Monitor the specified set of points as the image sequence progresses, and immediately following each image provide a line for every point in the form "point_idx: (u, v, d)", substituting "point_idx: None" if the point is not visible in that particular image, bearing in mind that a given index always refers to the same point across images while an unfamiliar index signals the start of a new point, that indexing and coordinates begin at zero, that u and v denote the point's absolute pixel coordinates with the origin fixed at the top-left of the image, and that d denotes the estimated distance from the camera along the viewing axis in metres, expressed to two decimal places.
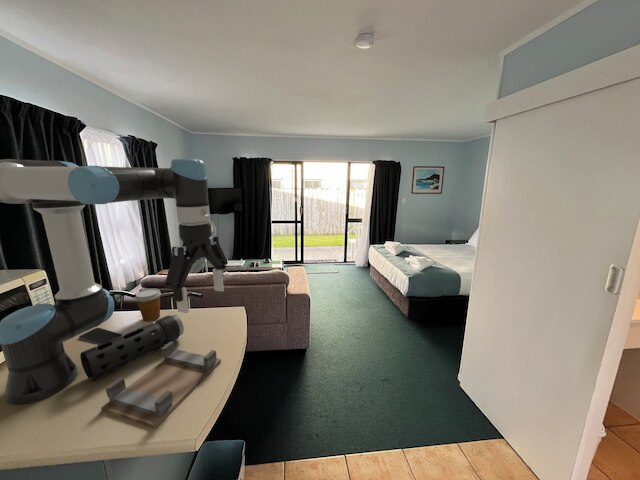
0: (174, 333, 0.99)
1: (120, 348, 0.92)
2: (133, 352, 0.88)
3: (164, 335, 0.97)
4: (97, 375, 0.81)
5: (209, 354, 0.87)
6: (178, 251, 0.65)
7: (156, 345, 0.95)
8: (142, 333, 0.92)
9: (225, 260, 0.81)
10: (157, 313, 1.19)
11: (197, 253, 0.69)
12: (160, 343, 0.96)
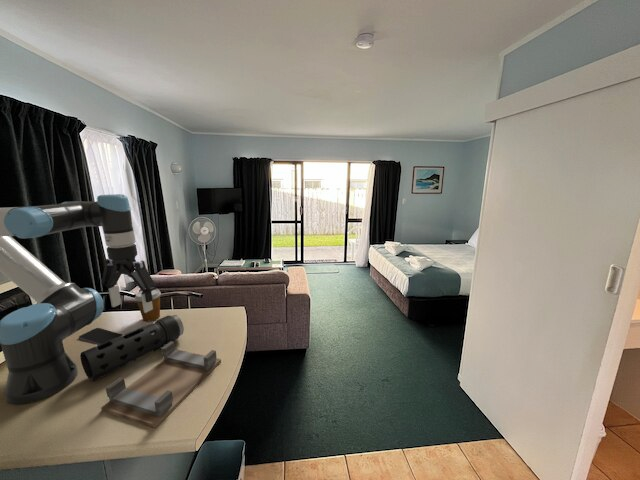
0: (174, 333, 0.99)
1: (120, 348, 0.92)
2: (133, 352, 0.88)
3: (164, 335, 0.97)
4: (97, 375, 0.81)
5: (209, 354, 0.87)
6: None
7: (156, 345, 0.95)
8: (142, 333, 0.92)
9: (147, 287, 0.85)
10: (157, 313, 1.19)
11: (114, 268, 0.86)
12: (160, 343, 0.96)
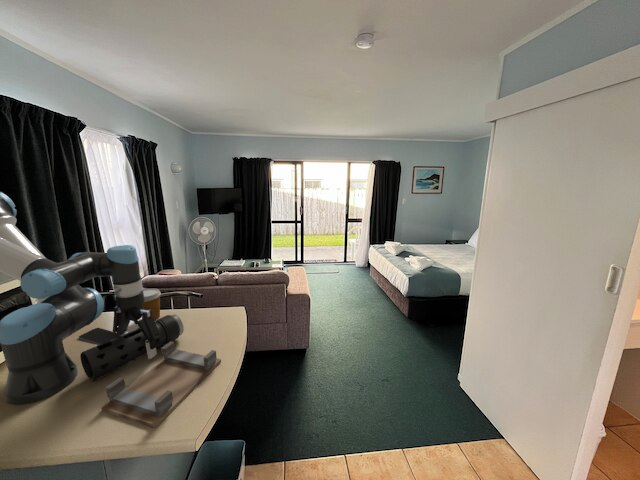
0: (174, 333, 0.99)
1: (120, 348, 0.92)
2: (133, 351, 0.88)
3: (164, 335, 0.97)
4: (97, 375, 0.81)
5: (209, 354, 0.87)
6: None
7: (156, 345, 0.95)
8: (142, 333, 0.92)
9: (151, 336, 0.89)
10: (157, 313, 1.19)
11: (123, 316, 0.90)
12: (160, 343, 0.96)
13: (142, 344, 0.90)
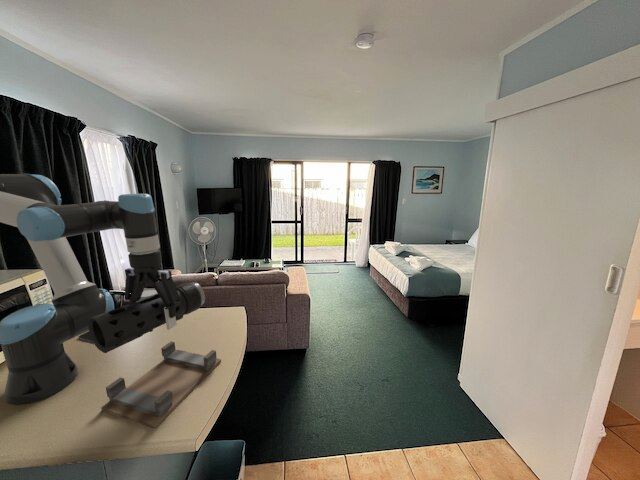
0: (195, 301, 0.85)
1: None
2: (151, 319, 0.75)
3: (184, 303, 0.83)
4: (110, 344, 0.67)
5: (209, 354, 0.87)
6: None
7: (176, 313, 0.81)
8: (160, 299, 0.78)
9: (171, 301, 0.75)
10: None
11: (137, 278, 0.76)
12: (180, 311, 0.82)
13: (161, 311, 0.77)
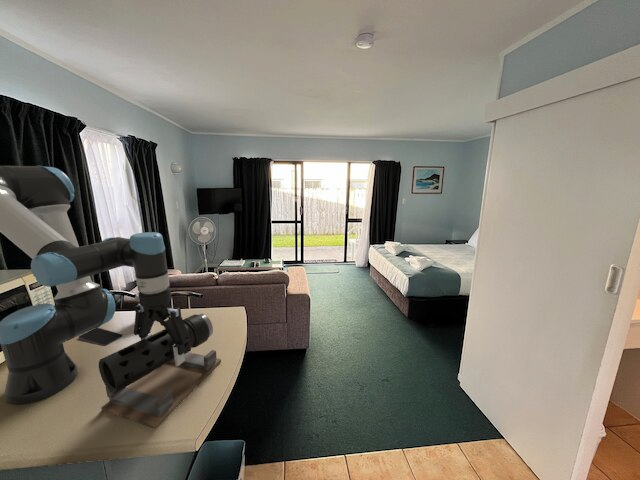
0: (203, 334, 0.86)
1: (143, 353, 0.79)
2: (160, 357, 0.75)
3: (193, 337, 0.84)
4: (120, 386, 0.68)
5: (209, 354, 0.87)
6: None
7: None
8: (169, 335, 0.79)
9: (180, 340, 0.75)
10: None
11: (147, 315, 0.76)
12: (189, 346, 0.82)
13: (169, 348, 0.77)
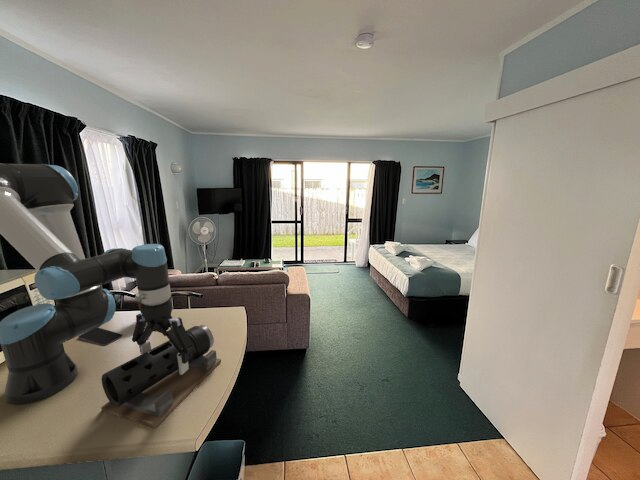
0: (205, 346, 0.87)
1: (145, 366, 0.79)
2: (162, 371, 0.76)
3: (194, 349, 0.85)
4: (124, 401, 0.69)
5: (209, 354, 0.87)
6: None
7: None
8: (171, 348, 0.80)
9: (184, 348, 0.76)
10: None
11: (148, 326, 0.77)
12: (190, 359, 0.83)
13: (171, 362, 0.78)
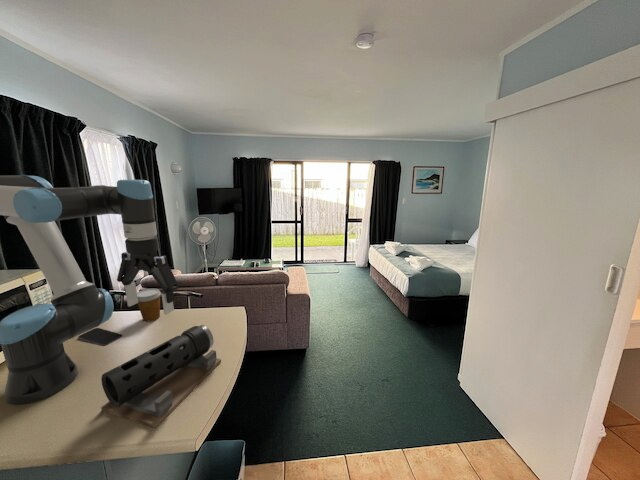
0: (204, 346, 0.87)
1: (145, 366, 0.80)
2: (162, 370, 0.76)
3: (194, 349, 0.85)
4: (123, 400, 0.69)
5: (209, 354, 0.87)
6: None
7: (186, 361, 0.82)
8: (170, 348, 0.80)
9: (169, 286, 0.75)
10: (157, 313, 1.19)
11: (133, 264, 0.76)
12: (190, 358, 0.84)
13: (171, 361, 0.78)
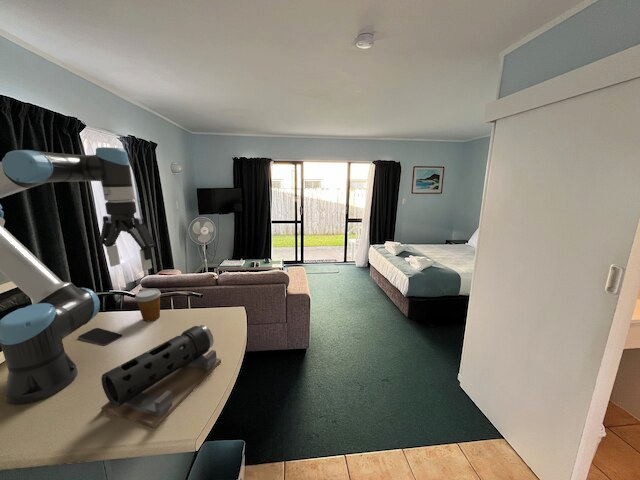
0: (204, 346, 0.87)
1: (145, 366, 0.80)
2: (162, 370, 0.76)
3: (194, 349, 0.85)
4: (123, 401, 0.69)
5: (209, 354, 0.87)
6: None
7: (186, 361, 0.82)
8: (170, 348, 0.80)
9: (146, 244, 0.84)
10: (157, 313, 1.19)
11: (113, 225, 0.85)
12: (190, 358, 0.84)
13: (171, 361, 0.78)
